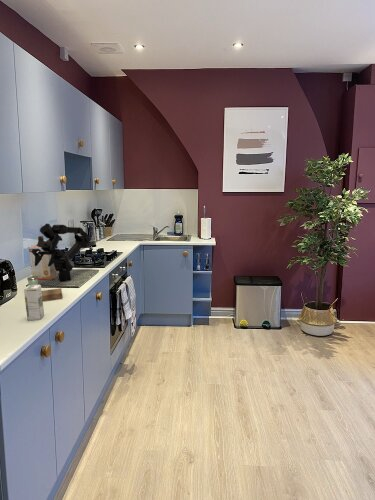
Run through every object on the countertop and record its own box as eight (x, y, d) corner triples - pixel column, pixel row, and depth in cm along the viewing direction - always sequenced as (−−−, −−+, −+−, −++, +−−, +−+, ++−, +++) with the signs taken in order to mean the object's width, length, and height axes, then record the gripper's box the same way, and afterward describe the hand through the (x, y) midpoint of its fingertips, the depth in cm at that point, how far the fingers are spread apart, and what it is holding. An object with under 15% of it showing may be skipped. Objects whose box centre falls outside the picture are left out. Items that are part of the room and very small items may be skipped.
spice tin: (39, 291, 211) (37, 275, 209) (39, 294, 206) (37, 278, 204) (29, 292, 209) (27, 277, 207) (29, 295, 204) (27, 279, 202)
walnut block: (61, 293, 204) (61, 288, 204) (62, 298, 195) (61, 293, 195) (42, 296, 201) (41, 290, 201) (41, 301, 192) (41, 296, 191)
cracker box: (57, 277, 239) (53, 245, 235) (50, 280, 233) (46, 247, 230) (39, 277, 244) (34, 245, 240) (32, 279, 238) (28, 246, 234)
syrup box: (31, 316, 172) (27, 285, 169) (44, 315, 172) (40, 284, 169) (27, 320, 166) (22, 288, 163) (41, 319, 166) (36, 287, 164)
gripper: (31, 234, 217) (19, 258, 210) (58, 235, 211) (47, 258, 203) (42, 245, 226) (32, 268, 218) (68, 246, 220) (58, 269, 212)
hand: (41, 266), depth 213 cm, fingers open, 9 cm apart
